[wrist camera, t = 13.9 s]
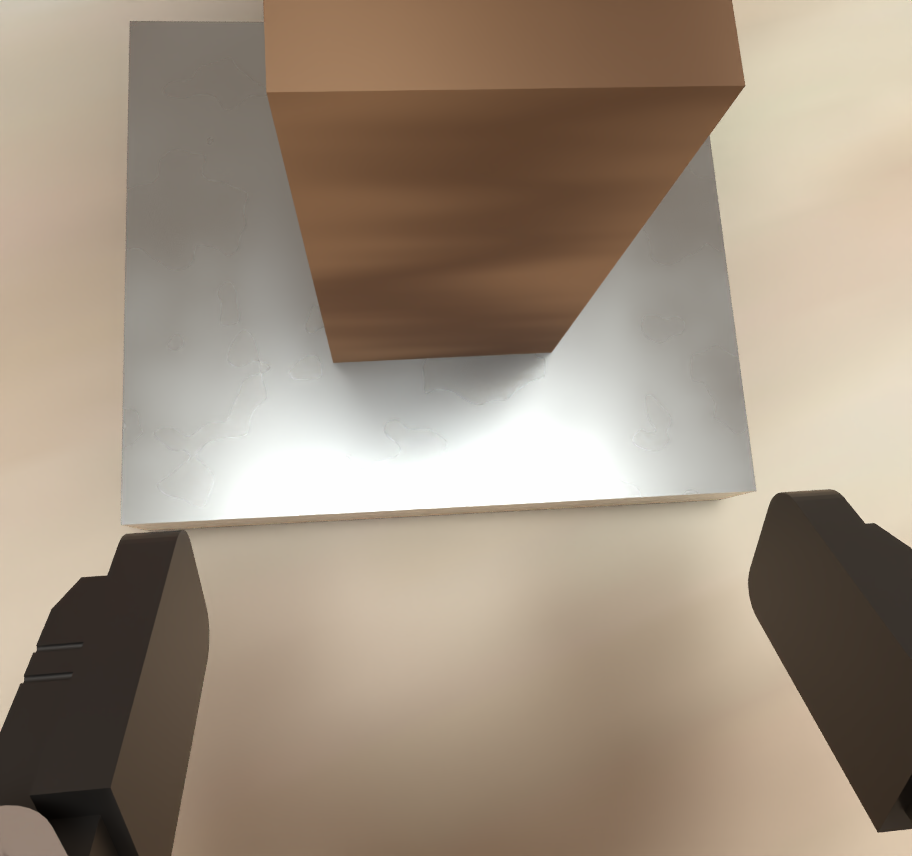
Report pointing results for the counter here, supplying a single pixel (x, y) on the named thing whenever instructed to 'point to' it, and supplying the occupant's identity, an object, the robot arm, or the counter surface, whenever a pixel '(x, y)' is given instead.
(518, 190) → the block
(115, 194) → the counter surface
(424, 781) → the counter surface
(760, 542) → the robot arm
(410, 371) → the press
